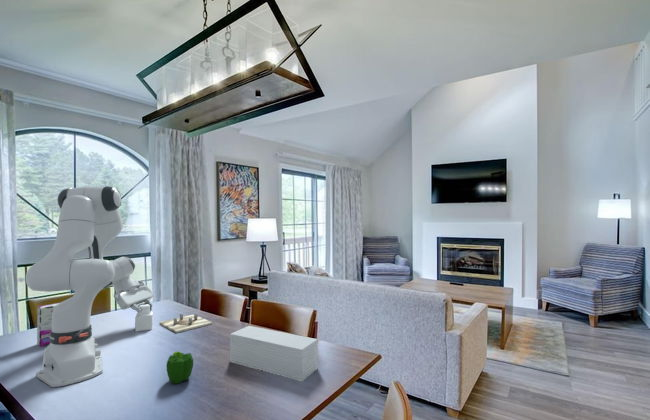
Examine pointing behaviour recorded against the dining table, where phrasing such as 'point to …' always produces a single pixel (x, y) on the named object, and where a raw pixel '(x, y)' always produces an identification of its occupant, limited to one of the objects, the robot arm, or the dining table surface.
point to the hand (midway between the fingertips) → (145, 309)
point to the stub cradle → (185, 323)
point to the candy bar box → (44, 324)
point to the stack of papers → (274, 352)
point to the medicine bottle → (144, 318)
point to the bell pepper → (179, 367)
